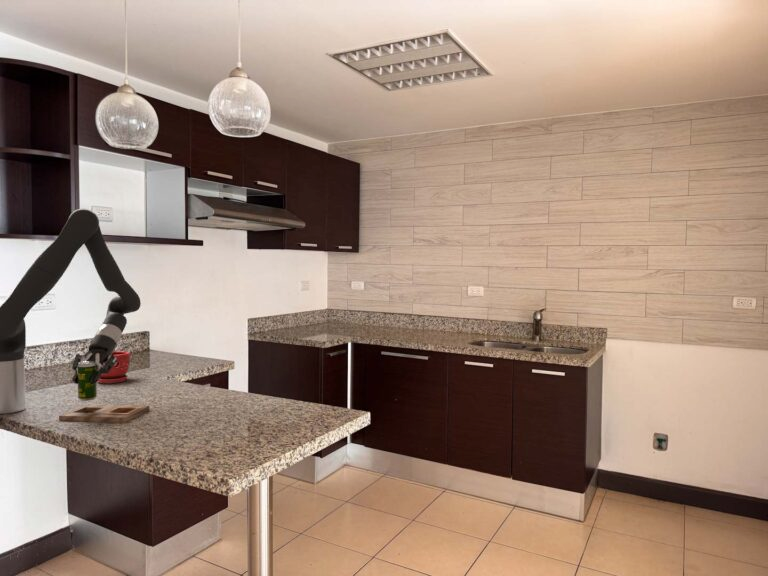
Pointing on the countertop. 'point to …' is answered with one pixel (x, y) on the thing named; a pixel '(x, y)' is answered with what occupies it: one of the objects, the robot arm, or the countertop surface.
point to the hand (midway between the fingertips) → (83, 382)
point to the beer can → (86, 381)
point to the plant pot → (117, 369)
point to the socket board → (104, 413)
